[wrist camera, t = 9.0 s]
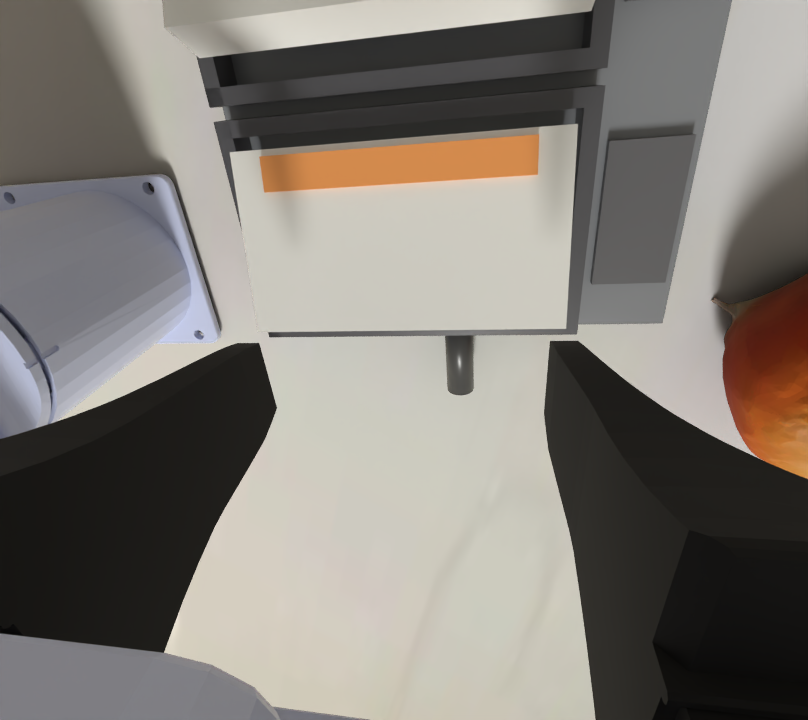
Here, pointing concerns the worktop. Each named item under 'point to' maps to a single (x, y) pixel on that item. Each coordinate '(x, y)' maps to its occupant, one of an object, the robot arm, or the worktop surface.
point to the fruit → (770, 374)
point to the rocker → (411, 232)
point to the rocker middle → (334, 20)
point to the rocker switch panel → (516, 127)
